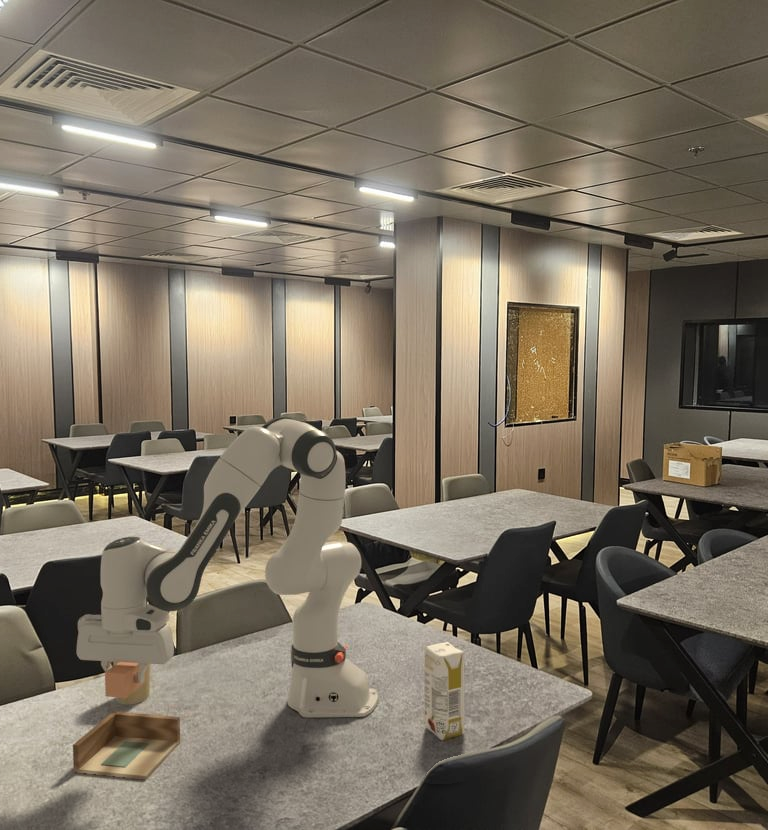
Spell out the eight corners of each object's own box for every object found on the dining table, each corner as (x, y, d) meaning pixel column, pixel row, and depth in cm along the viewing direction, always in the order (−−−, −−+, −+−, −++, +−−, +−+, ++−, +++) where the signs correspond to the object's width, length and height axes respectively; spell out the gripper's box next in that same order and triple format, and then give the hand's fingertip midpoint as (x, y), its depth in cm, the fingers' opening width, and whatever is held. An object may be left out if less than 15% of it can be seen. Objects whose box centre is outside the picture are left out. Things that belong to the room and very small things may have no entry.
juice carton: (440, 743, 158) (440, 658, 157) (420, 726, 166) (420, 645, 165) (469, 735, 162) (469, 652, 161) (448, 719, 170) (448, 639, 169)
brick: (125, 698, 147) (125, 674, 147) (105, 696, 148) (104, 672, 148) (145, 681, 155) (145, 658, 155) (126, 679, 156) (126, 657, 155)
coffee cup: (160, 692, 185) (159, 646, 184) (136, 708, 176) (135, 660, 176) (130, 687, 188) (128, 642, 188) (105, 702, 179) (103, 655, 179)
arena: (180, 742, 160) (179, 716, 159) (146, 779, 145) (145, 751, 145) (113, 736, 162) (113, 711, 162) (73, 772, 148) (72, 744, 147)
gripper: (69, 618, 149) (71, 684, 150) (163, 623, 146) (164, 690, 147) (86, 609, 155) (87, 672, 156) (176, 613, 152) (177, 677, 153)
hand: (125, 681), depth 151 cm, fingers closed on brick, 5 cm apart
